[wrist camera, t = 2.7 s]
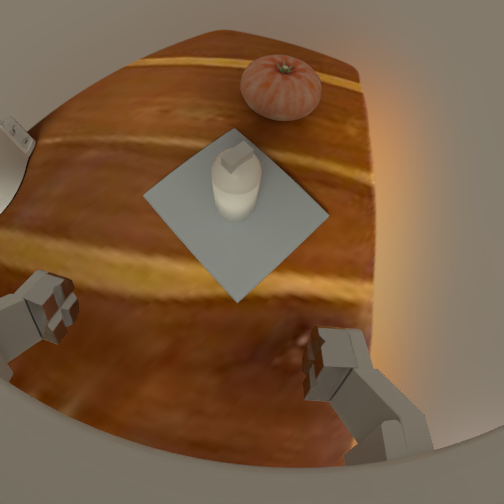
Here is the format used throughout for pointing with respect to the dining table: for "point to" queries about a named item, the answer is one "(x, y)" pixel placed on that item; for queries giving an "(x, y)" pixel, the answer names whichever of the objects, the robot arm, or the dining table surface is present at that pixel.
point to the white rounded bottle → (236, 182)
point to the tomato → (280, 87)
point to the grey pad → (235, 233)
